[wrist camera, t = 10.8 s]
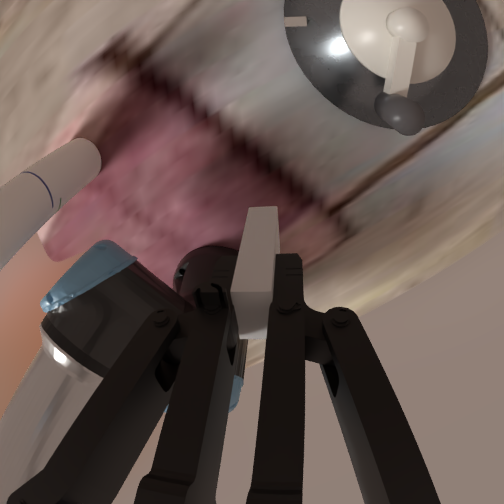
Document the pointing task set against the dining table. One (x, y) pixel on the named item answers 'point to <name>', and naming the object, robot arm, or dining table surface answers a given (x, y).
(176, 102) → the dining table surface
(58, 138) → the dining table surface
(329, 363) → the robot arm
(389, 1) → the dial
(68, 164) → the cylindrical container
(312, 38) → the dial plate
